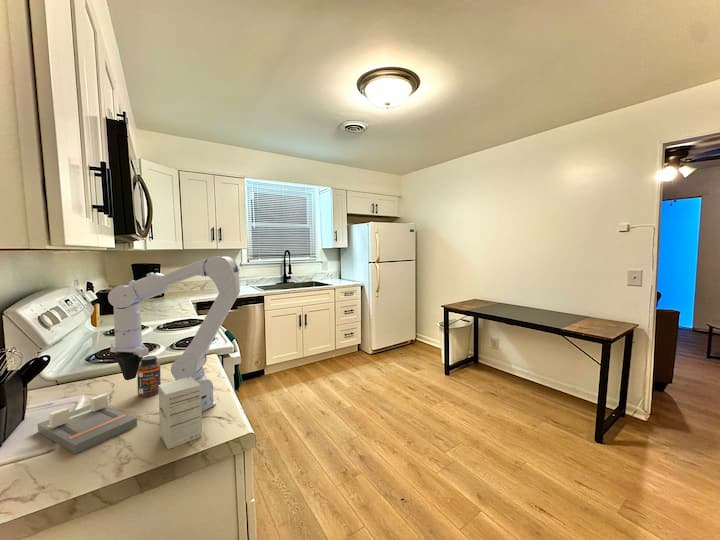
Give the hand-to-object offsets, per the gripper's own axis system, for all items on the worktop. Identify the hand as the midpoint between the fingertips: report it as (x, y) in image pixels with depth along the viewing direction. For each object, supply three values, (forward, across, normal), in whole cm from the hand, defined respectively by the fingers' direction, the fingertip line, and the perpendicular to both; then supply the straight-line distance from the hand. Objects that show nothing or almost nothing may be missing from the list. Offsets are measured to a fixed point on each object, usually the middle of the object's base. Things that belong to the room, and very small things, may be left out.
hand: (130, 378), depth 81 cm
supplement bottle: (+10, -8, +9) cm, 15 cm away
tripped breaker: (+7, -5, -5) cm, 10 cm away
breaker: (+7, -5, -13) cm, 15 cm away
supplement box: (+10, +23, -1) cm, 25 cm away
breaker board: (+9, -1, -9) cm, 13 cm away
